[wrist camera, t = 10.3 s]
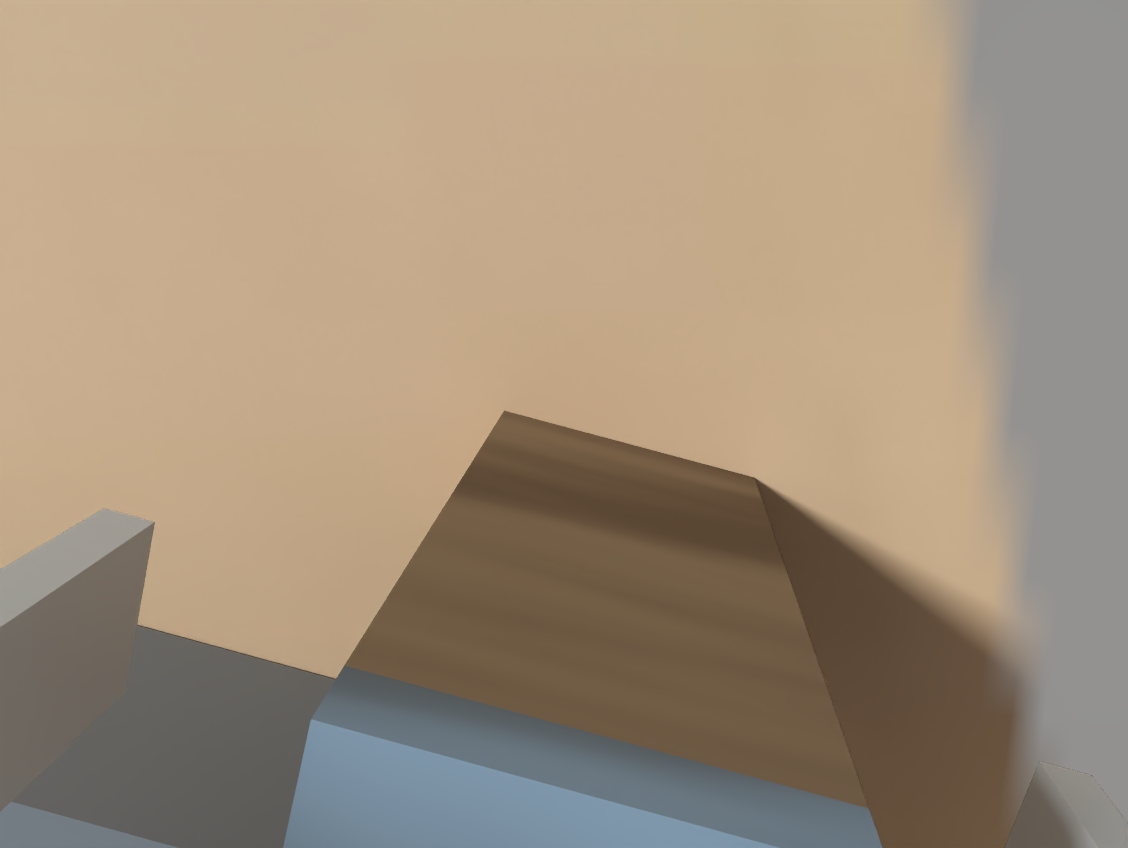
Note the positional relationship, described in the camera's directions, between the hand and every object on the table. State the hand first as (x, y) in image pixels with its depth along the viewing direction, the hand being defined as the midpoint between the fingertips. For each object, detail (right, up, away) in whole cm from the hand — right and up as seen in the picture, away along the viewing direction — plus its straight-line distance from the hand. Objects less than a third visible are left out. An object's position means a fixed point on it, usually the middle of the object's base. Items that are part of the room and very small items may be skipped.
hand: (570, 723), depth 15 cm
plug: (+1, +2, +6) cm, 6 cm away
